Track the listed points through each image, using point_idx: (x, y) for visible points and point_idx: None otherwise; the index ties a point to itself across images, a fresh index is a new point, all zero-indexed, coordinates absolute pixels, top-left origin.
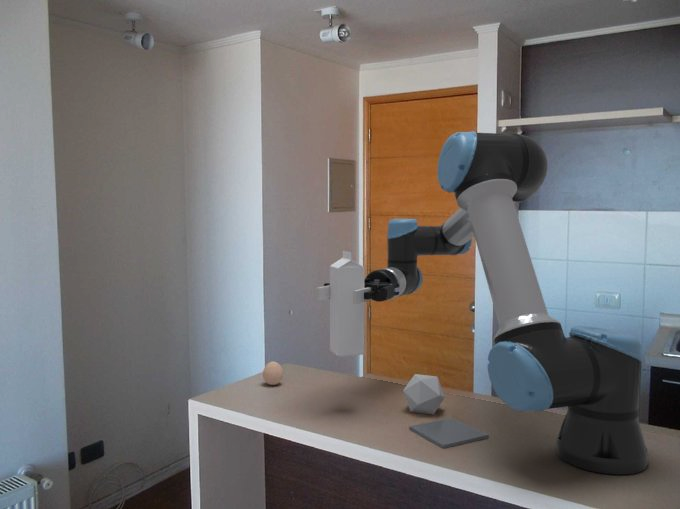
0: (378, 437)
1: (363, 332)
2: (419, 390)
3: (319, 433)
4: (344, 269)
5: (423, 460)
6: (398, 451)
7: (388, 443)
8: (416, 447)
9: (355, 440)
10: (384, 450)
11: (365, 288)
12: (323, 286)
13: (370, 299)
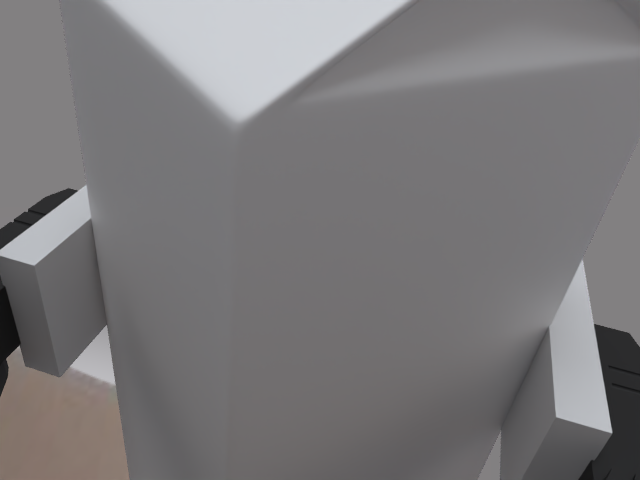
0: (116, 464)
1: None
2: None
3: None
4: None
5: (16, 353)
6: (70, 387)
7: (90, 428)
8: (11, 416)
9: None
10: (108, 387)
11: (80, 207)
12: (584, 276)
13: (30, 355)
